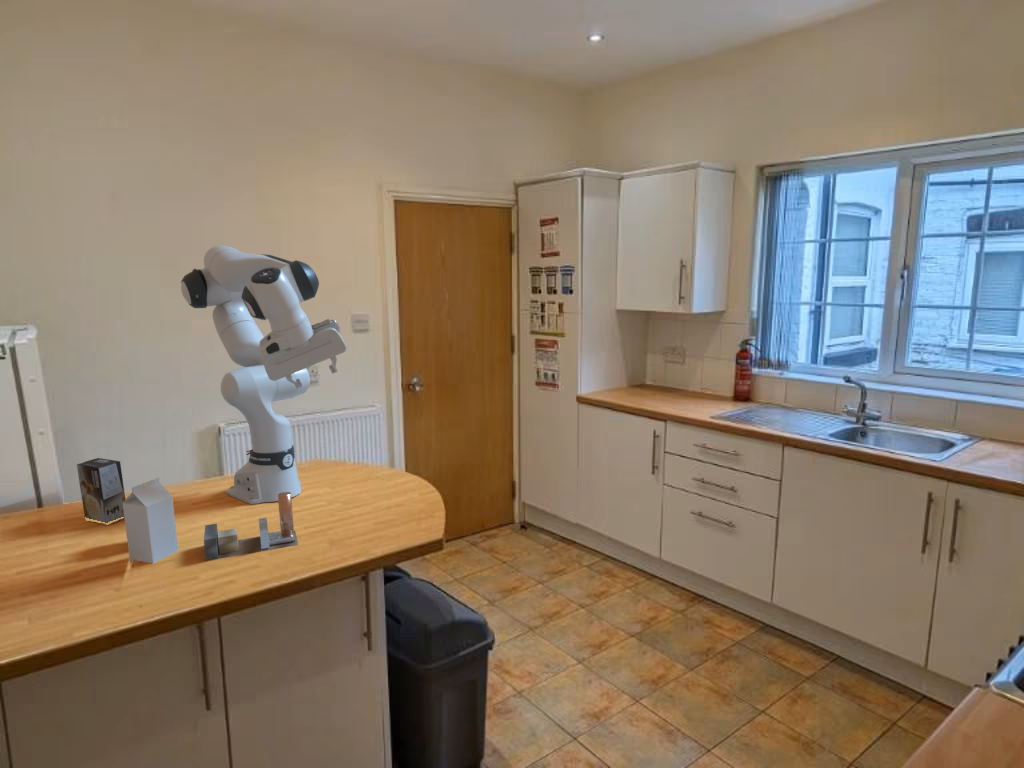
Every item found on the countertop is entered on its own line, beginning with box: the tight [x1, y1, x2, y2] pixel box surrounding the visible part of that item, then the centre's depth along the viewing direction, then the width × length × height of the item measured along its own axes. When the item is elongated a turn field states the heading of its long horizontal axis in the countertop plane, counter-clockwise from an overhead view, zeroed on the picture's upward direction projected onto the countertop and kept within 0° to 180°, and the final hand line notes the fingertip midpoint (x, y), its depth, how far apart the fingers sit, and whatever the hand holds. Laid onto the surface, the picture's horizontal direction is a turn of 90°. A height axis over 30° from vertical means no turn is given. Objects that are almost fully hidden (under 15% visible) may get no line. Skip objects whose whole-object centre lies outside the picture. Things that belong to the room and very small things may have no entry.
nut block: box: [218, 528, 239, 554], centre depth 151 cm, size 4×4×4 cm
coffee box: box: [76, 457, 126, 523], centre depth 172 cm, size 9×6×16 cm
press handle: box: [258, 492, 295, 549], centre depth 154 cm, size 8×8×11 cm
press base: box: [203, 523, 299, 562], centre depth 153 cm, size 20×9×6 cm, turn 113°
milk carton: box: [123, 477, 179, 564], centre depth 147 cm, size 7×7×19 cm
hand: (317, 379), depth 163 cm, fingers open, 8 cm apart
